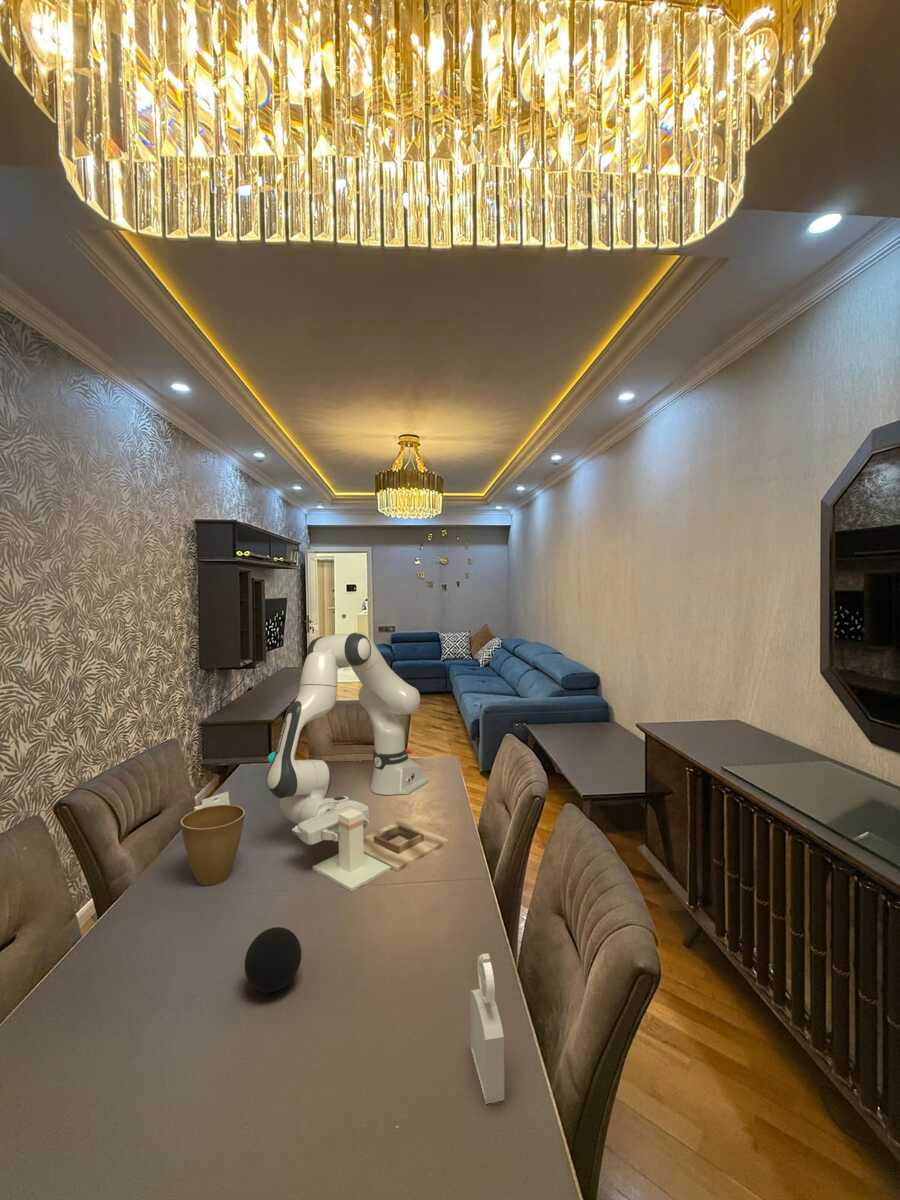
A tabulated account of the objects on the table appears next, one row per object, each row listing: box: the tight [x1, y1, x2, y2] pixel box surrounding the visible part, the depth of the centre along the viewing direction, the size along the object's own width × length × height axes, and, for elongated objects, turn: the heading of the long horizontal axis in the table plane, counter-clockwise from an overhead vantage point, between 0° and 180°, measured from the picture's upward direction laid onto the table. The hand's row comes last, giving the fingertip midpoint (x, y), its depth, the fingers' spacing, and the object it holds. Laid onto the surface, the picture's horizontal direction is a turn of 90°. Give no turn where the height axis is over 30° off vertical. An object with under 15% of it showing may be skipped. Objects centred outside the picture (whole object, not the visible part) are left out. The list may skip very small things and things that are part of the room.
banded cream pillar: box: [338, 809, 364, 873], centre depth 138 cm, size 5×5×14 cm
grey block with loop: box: [469, 953, 505, 1105], centre depth 80 cm, size 3×9×18 cm, turn 11°
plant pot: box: [180, 804, 246, 886], centre depth 135 cm, size 15×15×16 cm
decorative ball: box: [244, 926, 302, 993], centre depth 98 cm, size 10×10×10 cm
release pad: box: [312, 853, 392, 892], centre depth 139 cm, size 13×16×1 cm
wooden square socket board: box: [363, 819, 449, 872], centre depth 151 cm, size 20×20×3 cm
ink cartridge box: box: [193, 791, 231, 811], centre depth 153 cm, size 9×5×15 cm, turn 143°
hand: (353, 830), depth 138 cm, fingers open, 8 cm apart
